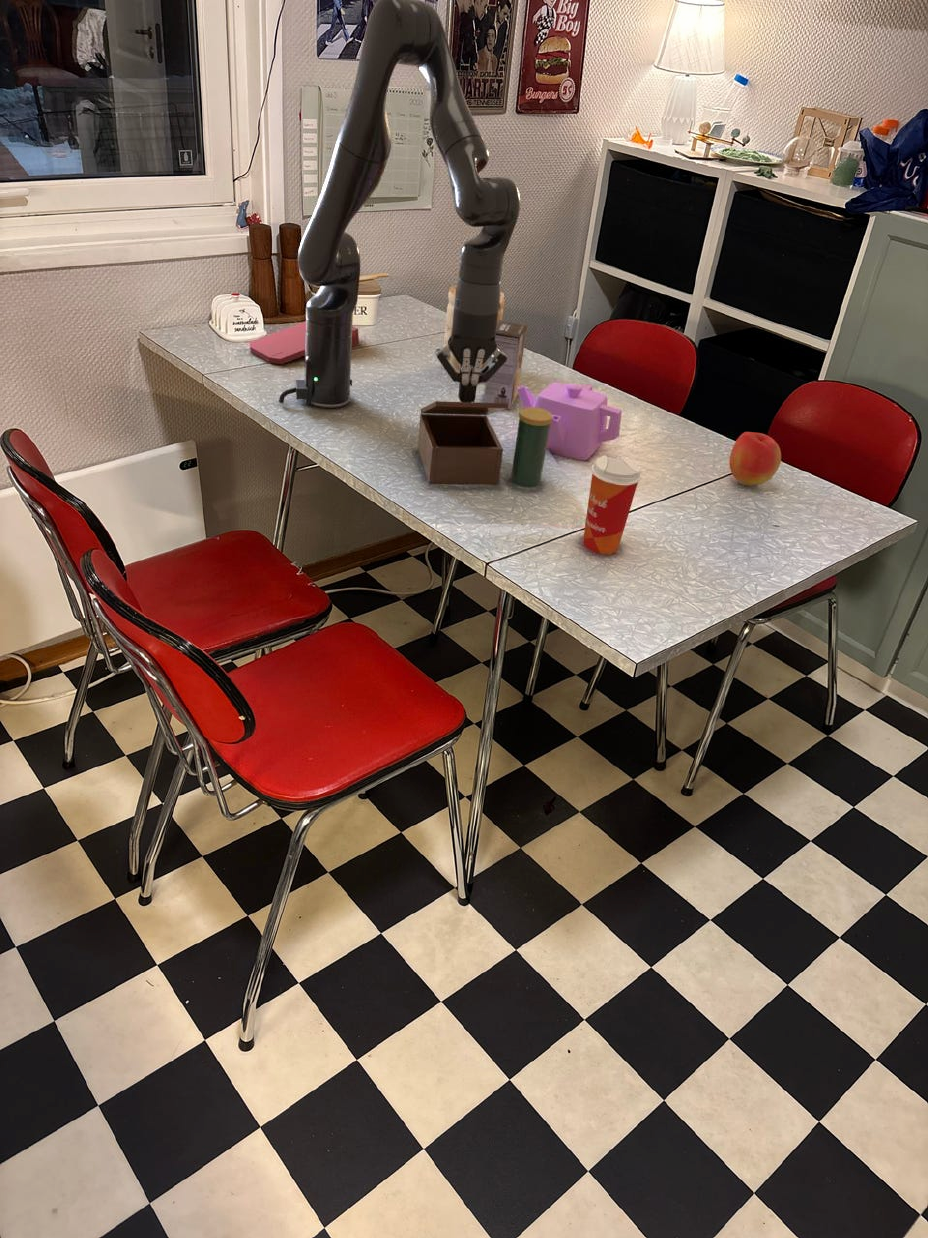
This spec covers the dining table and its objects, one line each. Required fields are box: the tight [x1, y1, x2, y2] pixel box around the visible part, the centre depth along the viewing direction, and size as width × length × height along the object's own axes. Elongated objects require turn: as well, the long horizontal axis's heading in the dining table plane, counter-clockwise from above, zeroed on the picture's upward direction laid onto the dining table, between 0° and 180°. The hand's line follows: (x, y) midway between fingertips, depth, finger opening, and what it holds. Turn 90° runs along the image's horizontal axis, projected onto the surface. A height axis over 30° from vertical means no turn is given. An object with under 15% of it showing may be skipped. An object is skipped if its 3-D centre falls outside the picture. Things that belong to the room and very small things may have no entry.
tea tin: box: [510, 407, 553, 488], centre depth 172 cm, size 6×6×14 cm
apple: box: [728, 431, 782, 487], centre depth 184 cm, size 10×10×10 cm
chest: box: [417, 413, 504, 486], centre depth 176 cm, size 15×13×8 cm
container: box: [443, 284, 505, 373], centre depth 216 cm, size 13×13×18 cm
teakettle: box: [517, 381, 623, 461], centre depth 190 cm, size 17×17×12 cm
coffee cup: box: [582, 454, 643, 555], centre depth 156 cm, size 8×8×15 cm
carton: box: [248, 320, 360, 365], centre depth 221 cm, size 12×5×25 cm
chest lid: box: [420, 400, 508, 416], centre depth 171 cm, size 16×13×1 cm
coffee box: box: [482, 320, 528, 410], centre depth 204 cm, size 9×6×16 cm
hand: (465, 403), depth 169 cm, fingers closed
